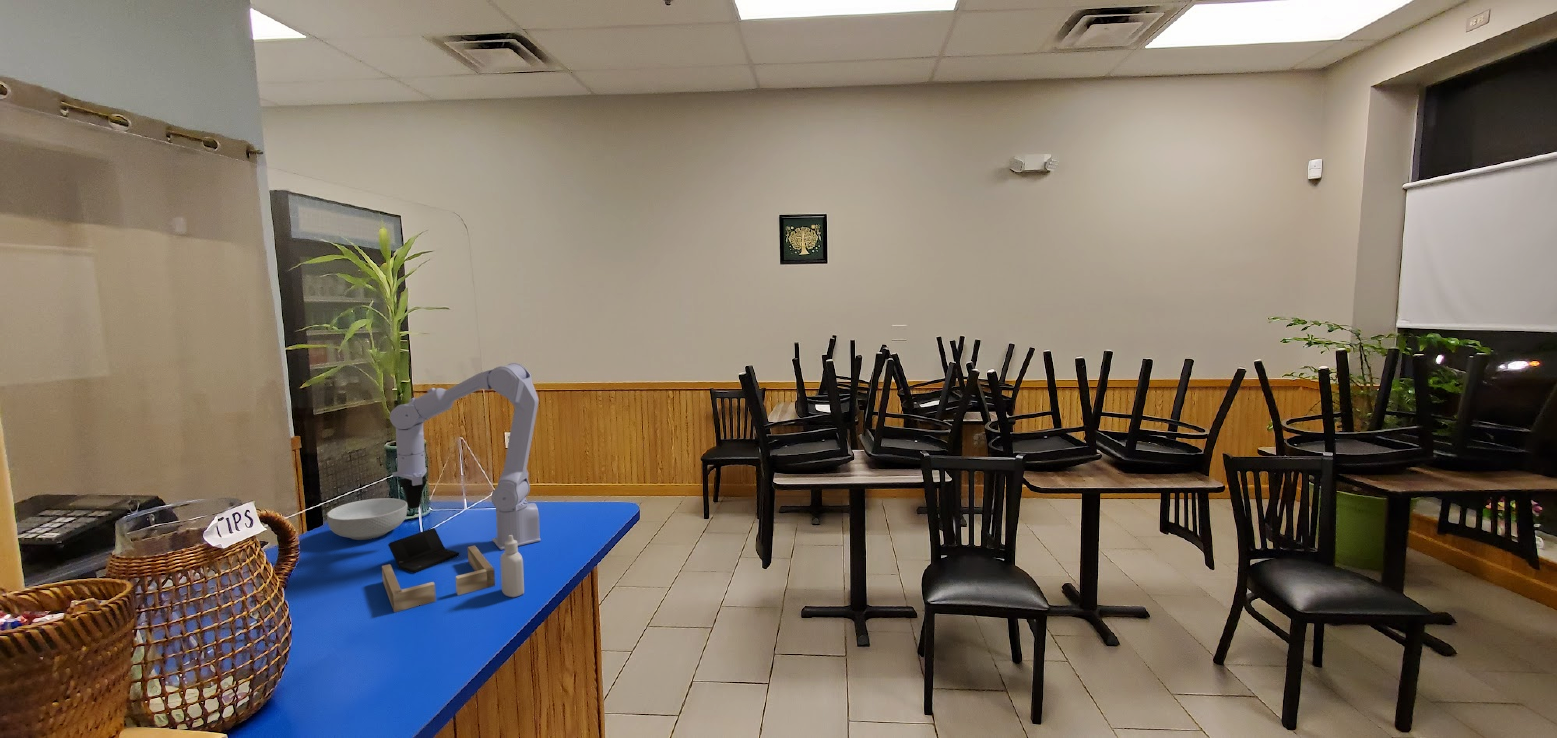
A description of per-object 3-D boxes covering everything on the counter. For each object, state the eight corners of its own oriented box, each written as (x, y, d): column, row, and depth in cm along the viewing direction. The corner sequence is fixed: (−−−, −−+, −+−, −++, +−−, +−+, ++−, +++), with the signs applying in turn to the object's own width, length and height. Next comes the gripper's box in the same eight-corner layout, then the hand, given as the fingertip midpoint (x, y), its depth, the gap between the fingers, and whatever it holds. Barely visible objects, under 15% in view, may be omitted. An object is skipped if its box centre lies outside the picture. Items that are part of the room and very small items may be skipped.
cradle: (475, 560, 140) (474, 545, 139) (495, 585, 127) (494, 569, 127) (382, 581, 128) (381, 566, 128) (394, 612, 116) (393, 594, 115)
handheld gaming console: (422, 567, 132) (403, 527, 134) (401, 584, 134) (382, 545, 136) (464, 555, 143) (446, 518, 145) (444, 570, 145) (426, 534, 147)
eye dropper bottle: (525, 584, 127) (522, 529, 126) (523, 596, 122) (521, 539, 121) (502, 588, 126) (499, 532, 125) (500, 600, 121) (497, 541, 120)
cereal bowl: (350, 552, 144) (348, 523, 143) (315, 539, 152) (313, 511, 151) (422, 529, 159) (420, 503, 158) (386, 518, 167) (385, 493, 166)
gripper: (387, 449, 150) (390, 503, 151) (396, 461, 138) (399, 519, 140) (420, 445, 154) (422, 497, 155) (431, 456, 143) (434, 512, 144)
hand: (414, 507), depth 148 cm, fingers closed
